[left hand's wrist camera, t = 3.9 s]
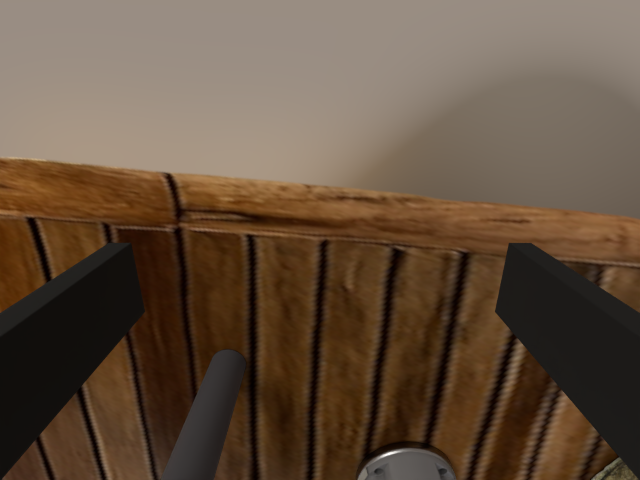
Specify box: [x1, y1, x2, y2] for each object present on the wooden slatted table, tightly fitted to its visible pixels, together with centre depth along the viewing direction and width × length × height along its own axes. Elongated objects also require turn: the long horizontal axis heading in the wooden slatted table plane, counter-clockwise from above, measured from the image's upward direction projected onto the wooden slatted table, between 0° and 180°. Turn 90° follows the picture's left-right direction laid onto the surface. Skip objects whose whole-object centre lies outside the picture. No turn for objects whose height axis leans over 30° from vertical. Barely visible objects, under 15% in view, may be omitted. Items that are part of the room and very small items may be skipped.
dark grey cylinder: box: [161, 350, 246, 480], centre depth 39 cm, size 5×5×20 cm
